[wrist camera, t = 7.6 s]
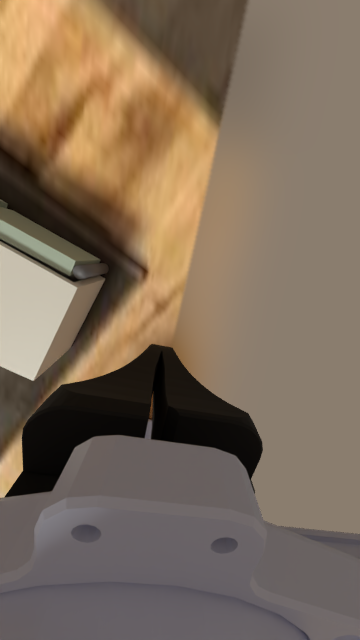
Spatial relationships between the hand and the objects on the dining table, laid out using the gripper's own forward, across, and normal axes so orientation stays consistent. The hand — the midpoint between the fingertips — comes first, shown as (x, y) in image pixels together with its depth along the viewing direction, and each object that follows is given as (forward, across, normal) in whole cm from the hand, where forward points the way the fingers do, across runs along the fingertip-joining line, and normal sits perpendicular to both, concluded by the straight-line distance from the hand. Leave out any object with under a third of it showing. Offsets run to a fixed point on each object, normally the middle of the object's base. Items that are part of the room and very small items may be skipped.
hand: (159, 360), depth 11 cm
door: (+9, +10, -5) cm, 15 cm away
